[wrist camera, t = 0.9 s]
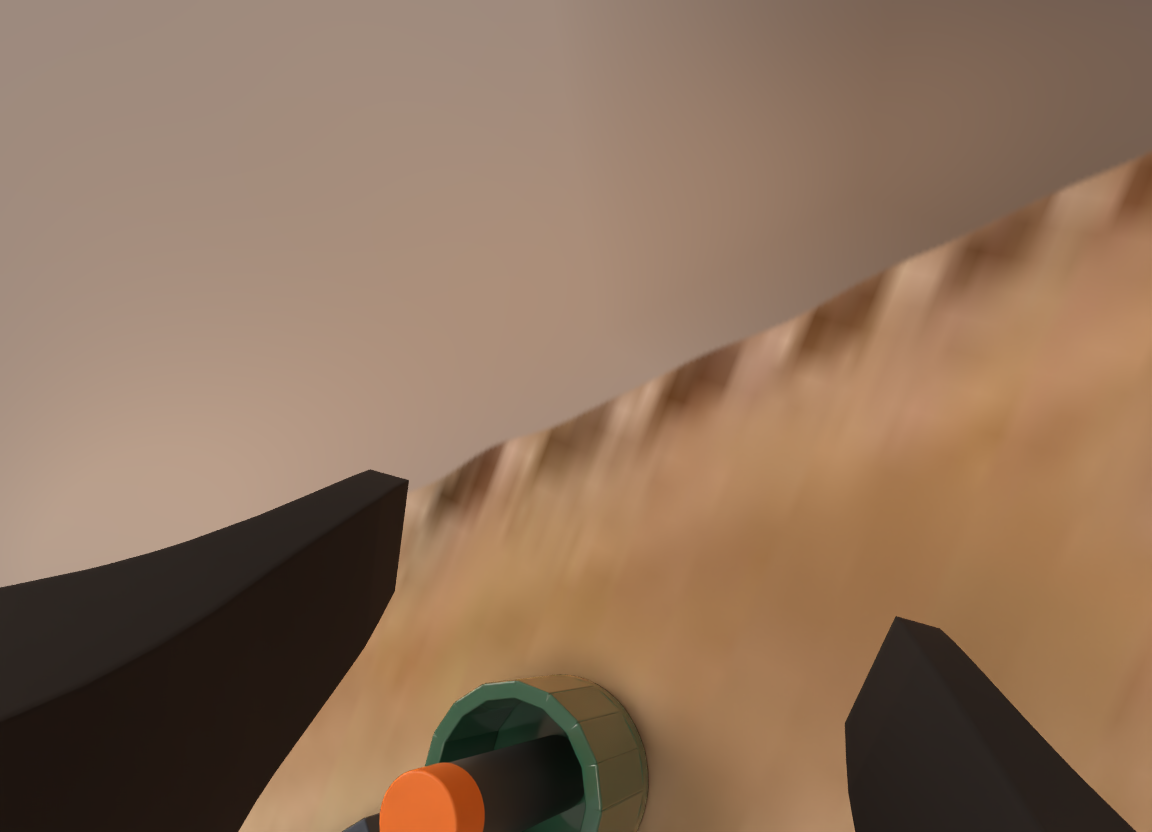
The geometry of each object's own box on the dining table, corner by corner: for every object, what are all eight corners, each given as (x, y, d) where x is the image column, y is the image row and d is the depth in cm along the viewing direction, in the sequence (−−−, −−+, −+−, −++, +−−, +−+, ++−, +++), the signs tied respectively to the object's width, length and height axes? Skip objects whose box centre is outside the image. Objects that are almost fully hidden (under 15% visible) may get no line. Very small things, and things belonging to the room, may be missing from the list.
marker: (602, 792, 23) (471, 853, 17) (543, 826, 24) (397, 895, 17) (569, 720, 24) (435, 752, 18) (514, 753, 25) (366, 795, 18)
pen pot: (683, 822, 22) (637, 854, 19) (531, 904, 24) (467, 945, 21) (595, 641, 25) (543, 644, 22) (463, 725, 26) (397, 738, 23)
